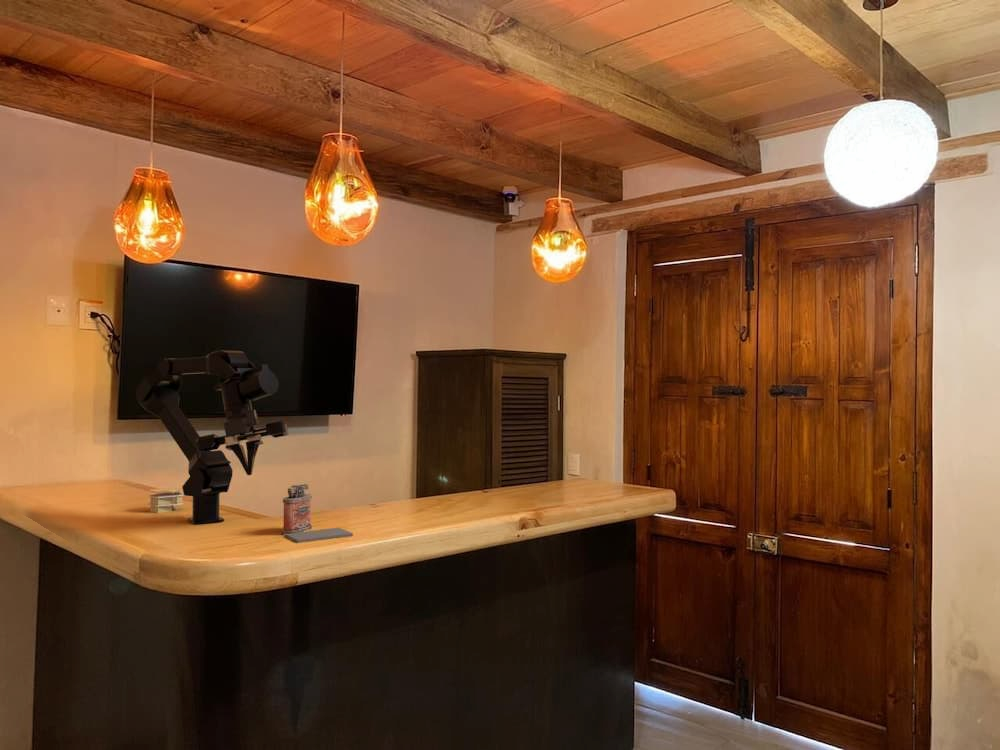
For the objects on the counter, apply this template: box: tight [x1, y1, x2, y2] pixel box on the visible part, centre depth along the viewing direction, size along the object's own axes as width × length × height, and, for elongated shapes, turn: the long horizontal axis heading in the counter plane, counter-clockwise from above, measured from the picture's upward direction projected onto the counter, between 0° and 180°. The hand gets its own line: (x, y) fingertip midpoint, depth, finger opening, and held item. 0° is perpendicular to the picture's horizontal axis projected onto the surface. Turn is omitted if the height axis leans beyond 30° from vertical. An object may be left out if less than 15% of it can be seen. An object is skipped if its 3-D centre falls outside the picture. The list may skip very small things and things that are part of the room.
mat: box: [284, 527, 354, 543], centre depth 156 cm, size 7×12×1 cm, turn 126°
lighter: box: [282, 483, 313, 535], centre depth 160 cm, size 8×3×10 cm, turn 158°
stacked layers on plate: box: [148, 486, 185, 514], centre depth 183 cm, size 10×9×6 cm
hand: (249, 475), depth 164 cm, fingers closed
